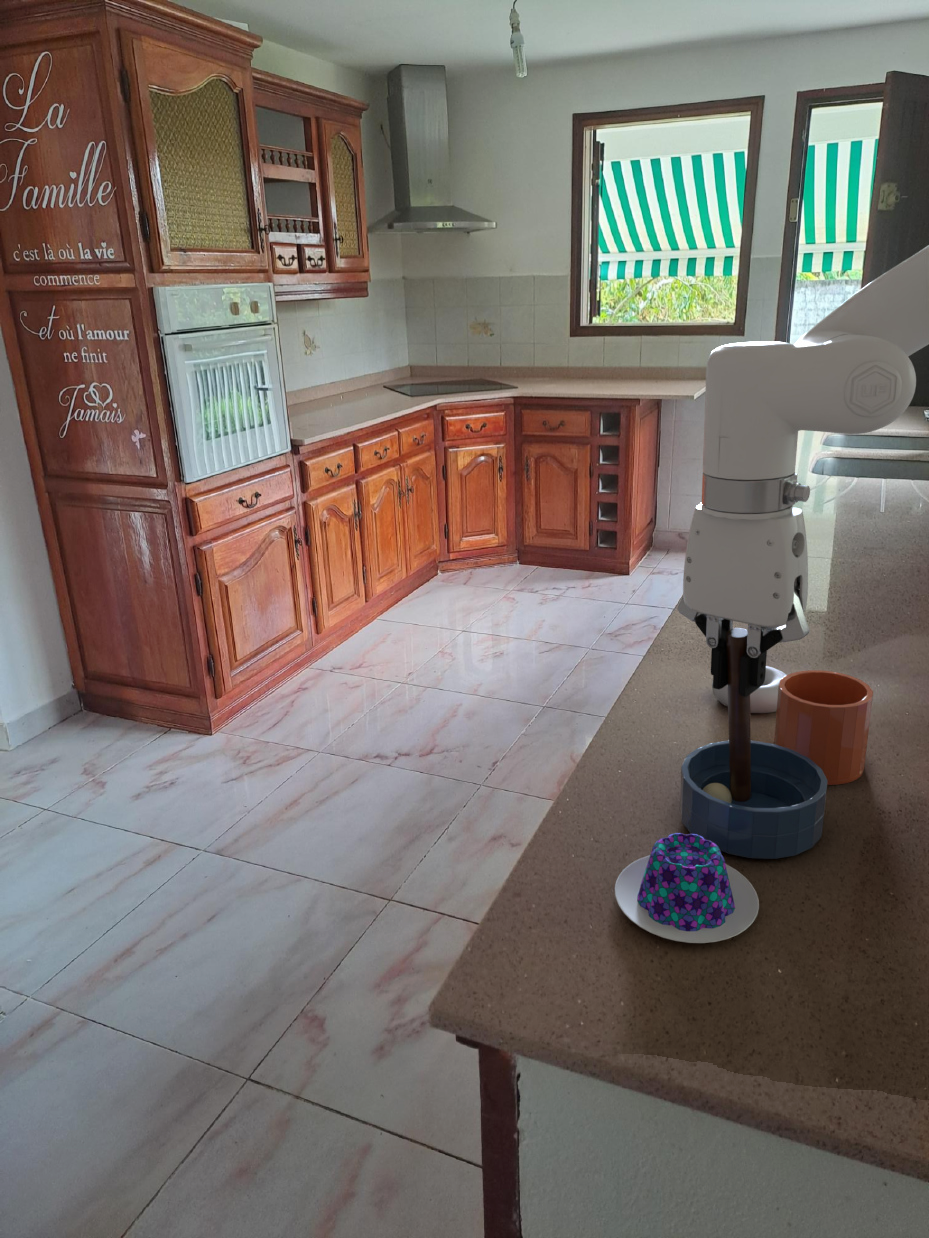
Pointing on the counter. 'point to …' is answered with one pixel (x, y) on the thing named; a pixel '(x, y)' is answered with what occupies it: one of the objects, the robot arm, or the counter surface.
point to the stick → (738, 719)
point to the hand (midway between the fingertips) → (736, 686)
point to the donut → (759, 693)
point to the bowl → (755, 801)
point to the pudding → (686, 892)
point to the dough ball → (718, 792)
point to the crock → (825, 721)
